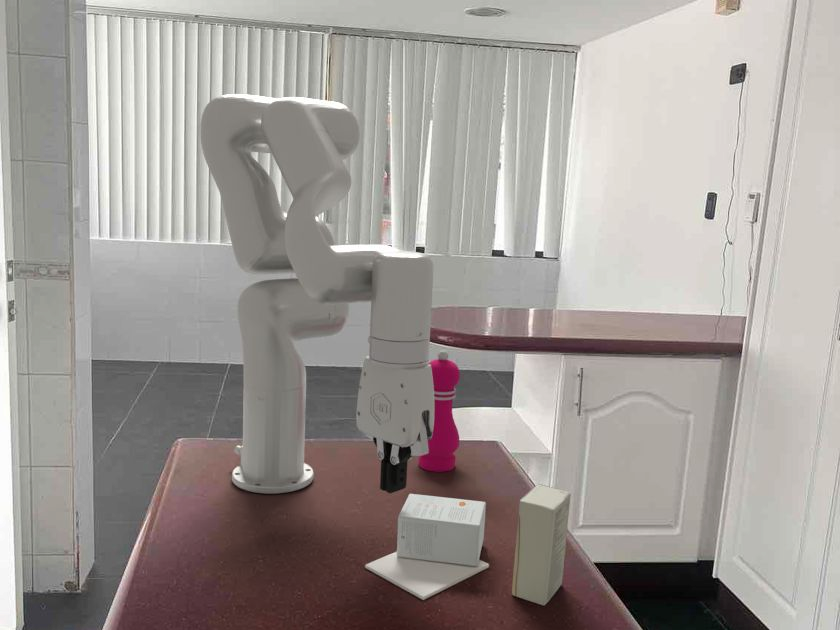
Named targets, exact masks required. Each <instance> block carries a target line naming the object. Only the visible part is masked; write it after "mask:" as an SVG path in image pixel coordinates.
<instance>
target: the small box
mask: <svg viewBox="0 0 840 630" xmlns="http://www.w3.org/2000/svg"><path fill="white" fill-rule="evenodd" d="M486 506H487V503H486V501H479V500H471V499H463V498H462V499H461V498H453V497H445V496H444V497H443V496H436V495H435V496H434V495H428V494H426V495H425V494H424V495H423V494H415V493H409V494H408V496H407V498H406V501H405V502H404V504H403V505H402V507H401V508H402V509H401V510H400V512H399V514H398V516H397V534H396V535H397V539H396V552H397V557H404V558H412V559H420V560H428V561H436V562H444V563H453V564H461V565H469V566H478V562H479V560H480V557H481V553H482V552H481V551H482V549H483V548H482V547H483V543H484V540H485V539H484V536H485V525H486V524H485V523H486V510H487V509H486V508H487V507H486Z"/></svg>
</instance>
